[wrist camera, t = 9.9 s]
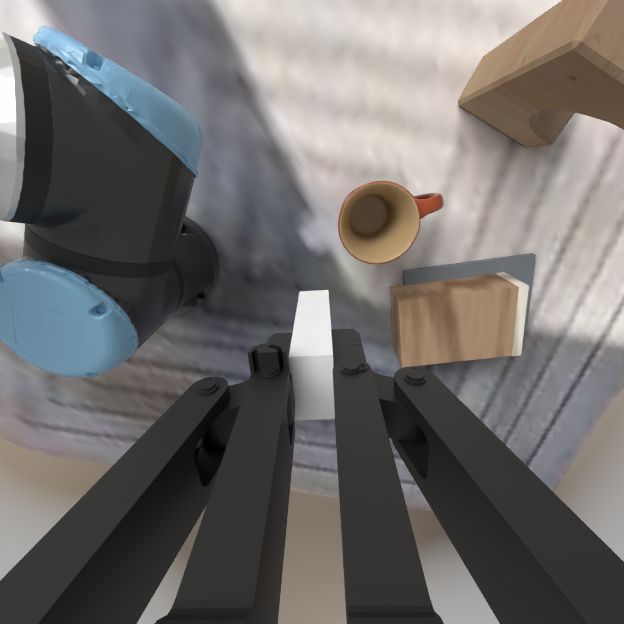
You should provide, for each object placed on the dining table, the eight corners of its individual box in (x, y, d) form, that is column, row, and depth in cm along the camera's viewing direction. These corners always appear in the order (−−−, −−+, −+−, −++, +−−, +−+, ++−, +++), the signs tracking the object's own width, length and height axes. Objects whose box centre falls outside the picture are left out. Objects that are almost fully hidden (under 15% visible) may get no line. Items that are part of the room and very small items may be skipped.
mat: (406, 342, 52) (407, 345, 51) (403, 270, 48) (404, 272, 47) (523, 329, 51) (526, 331, 50) (532, 253, 46) (535, 254, 45)
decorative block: (559, 104, 39) (771, 43, 21) (526, 151, 41) (692, 133, 23) (485, 52, 37) (645, -66, 19) (454, 104, 39) (571, 43, 21)
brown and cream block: (402, 367, 46) (520, 355, 45) (399, 301, 42) (529, 285, 41) (393, 346, 52) (498, 334, 50) (389, 286, 48) (504, 272, 46)
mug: (344, 253, 47) (350, 274, 37) (326, 191, 44) (328, 197, 34) (428, 227, 45) (457, 241, 36) (415, 160, 42) (443, 157, 32)
